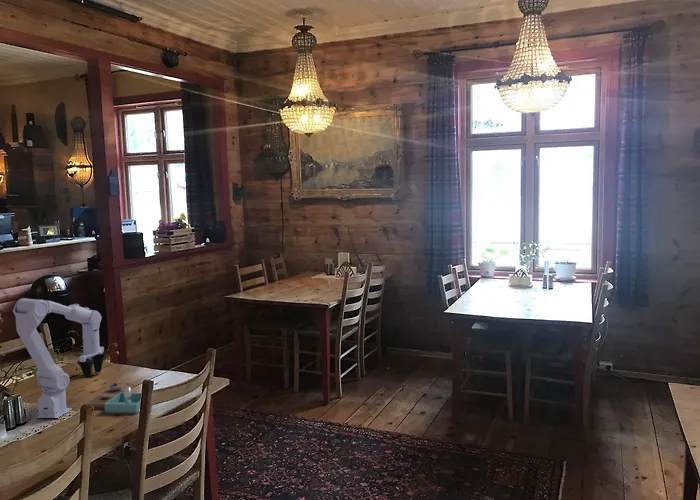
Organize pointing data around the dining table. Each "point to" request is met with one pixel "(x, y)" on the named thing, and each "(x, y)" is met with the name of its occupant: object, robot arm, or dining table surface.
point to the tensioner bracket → (106, 396)
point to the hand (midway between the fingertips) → (93, 374)
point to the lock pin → (127, 395)
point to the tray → (123, 404)
